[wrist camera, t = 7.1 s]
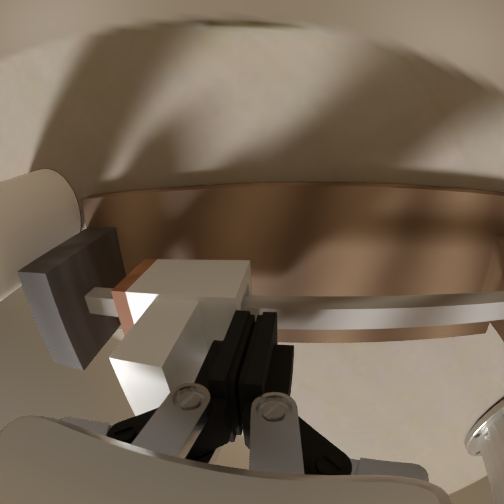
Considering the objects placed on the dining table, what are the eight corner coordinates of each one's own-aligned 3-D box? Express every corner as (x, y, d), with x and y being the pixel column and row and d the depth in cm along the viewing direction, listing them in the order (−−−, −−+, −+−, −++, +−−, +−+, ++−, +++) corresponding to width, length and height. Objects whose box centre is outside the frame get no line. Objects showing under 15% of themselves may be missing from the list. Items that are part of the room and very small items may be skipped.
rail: (508, 193, 14) (588, 235, 7) (479, 324, 18) (524, 396, 11) (91, 195, 19) (6, 234, 12) (121, 319, 23) (66, 385, 16)
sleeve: (249, 260, 15) (207, 368, 8) (254, 320, 17) (222, 436, 10) (157, 259, 16) (74, 345, 9) (169, 315, 17) (107, 411, 11)
